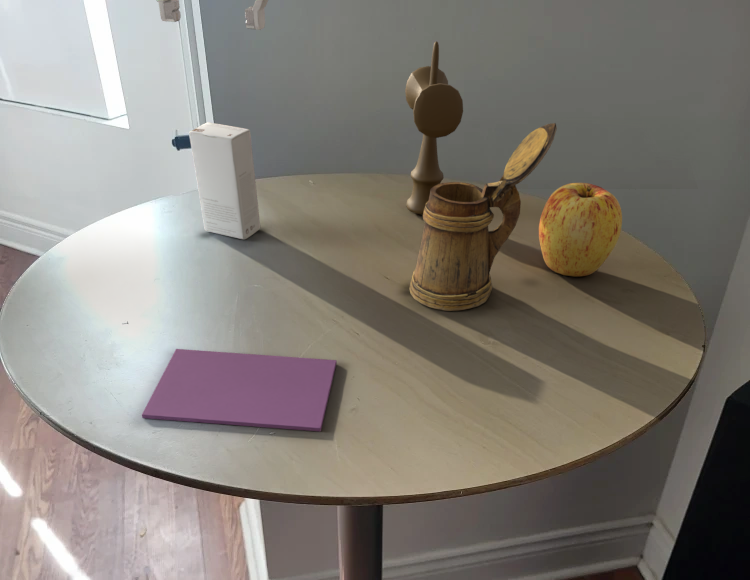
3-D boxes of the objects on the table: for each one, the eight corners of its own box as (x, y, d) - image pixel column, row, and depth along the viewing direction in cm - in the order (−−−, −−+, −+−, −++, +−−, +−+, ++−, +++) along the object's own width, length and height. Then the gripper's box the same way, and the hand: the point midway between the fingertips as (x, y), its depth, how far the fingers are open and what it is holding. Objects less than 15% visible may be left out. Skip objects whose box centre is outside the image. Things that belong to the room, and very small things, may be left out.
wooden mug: (536, 311, 85) (568, 138, 72) (413, 311, 84) (424, 136, 72) (521, 273, 91) (548, 109, 79) (406, 273, 90) (416, 107, 78)
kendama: (407, 226, 100) (417, 52, 87) (397, 196, 107) (405, 31, 94) (453, 225, 101) (470, 51, 87) (440, 195, 108) (454, 31, 94)
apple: (607, 257, 95) (628, 174, 88) (610, 292, 88) (632, 205, 82) (533, 250, 96) (547, 167, 89) (530, 283, 89) (545, 197, 83)
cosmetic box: (262, 228, 99) (254, 127, 90) (243, 242, 95) (233, 139, 87) (220, 219, 100) (209, 119, 92) (201, 232, 97) (187, 130, 89)
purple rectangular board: (142, 418, 69) (141, 414, 69) (176, 352, 77) (175, 348, 77) (320, 431, 68) (320, 428, 68) (336, 363, 76) (336, 359, 76)
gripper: (75, -152, 71) (107, 22, 80) (287, -141, 67) (295, 39, 77) (109, -156, 75) (135, 10, 85) (310, -146, 72) (314, 26, 81)
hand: (213, 24), depth 81 cm, fingers open, 8 cm apart
